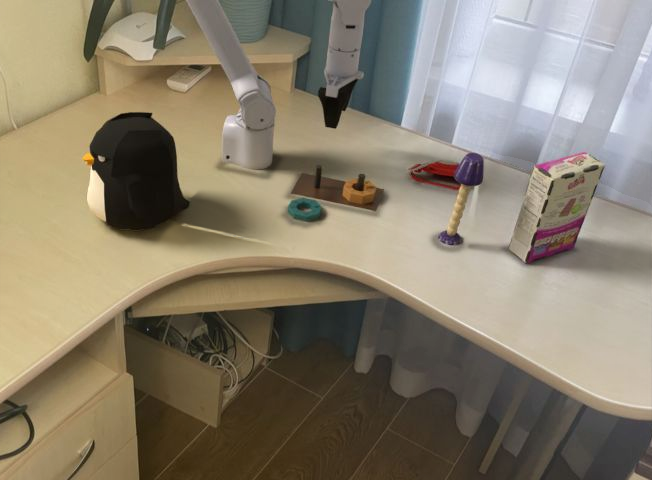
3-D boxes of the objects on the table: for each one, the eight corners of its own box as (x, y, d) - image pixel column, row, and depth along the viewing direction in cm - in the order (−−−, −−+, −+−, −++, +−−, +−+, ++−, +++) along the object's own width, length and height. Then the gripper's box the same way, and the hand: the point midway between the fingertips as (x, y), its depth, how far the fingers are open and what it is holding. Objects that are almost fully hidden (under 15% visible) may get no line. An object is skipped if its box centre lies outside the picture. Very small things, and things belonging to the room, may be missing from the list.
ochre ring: (340, 200, 136) (341, 191, 135) (347, 184, 140) (348, 176, 139) (370, 206, 135) (372, 197, 134) (376, 190, 139) (378, 182, 138)
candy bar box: (553, 234, 133) (585, 150, 121) (573, 249, 129) (608, 164, 118) (505, 249, 129) (533, 163, 117) (524, 265, 125) (555, 178, 114)
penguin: (81, 193, 135) (68, 102, 123) (177, 180, 140) (173, 91, 128) (99, 250, 123) (87, 155, 111) (204, 233, 127) (203, 140, 116)
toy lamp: (465, 239, 130) (490, 152, 119) (462, 253, 127) (487, 166, 115) (438, 233, 131) (460, 146, 120) (434, 247, 128) (456, 159, 116)
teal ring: (284, 220, 132) (284, 211, 130) (293, 204, 136) (293, 195, 134) (315, 227, 131) (316, 218, 129) (323, 210, 135) (324, 201, 133)
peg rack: (290, 197, 137) (292, 172, 134) (301, 176, 143) (303, 152, 140) (375, 214, 134) (379, 190, 131) (383, 192, 140) (387, 169, 137)
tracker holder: (443, 156, 149) (485, 166, 142) (439, 178, 151) (481, 189, 144) (403, 159, 142) (445, 169, 135) (400, 182, 143) (441, 194, 137)
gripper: (358, 65, 126) (347, 139, 135) (374, 35, 136) (364, 106, 145) (317, 58, 127) (310, 132, 136) (337, 28, 137) (329, 99, 146)
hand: (335, 118), depth 141 cm, fingers open, 7 cm apart
